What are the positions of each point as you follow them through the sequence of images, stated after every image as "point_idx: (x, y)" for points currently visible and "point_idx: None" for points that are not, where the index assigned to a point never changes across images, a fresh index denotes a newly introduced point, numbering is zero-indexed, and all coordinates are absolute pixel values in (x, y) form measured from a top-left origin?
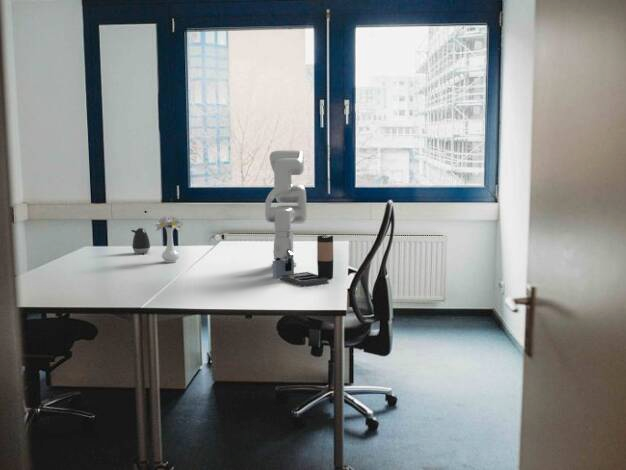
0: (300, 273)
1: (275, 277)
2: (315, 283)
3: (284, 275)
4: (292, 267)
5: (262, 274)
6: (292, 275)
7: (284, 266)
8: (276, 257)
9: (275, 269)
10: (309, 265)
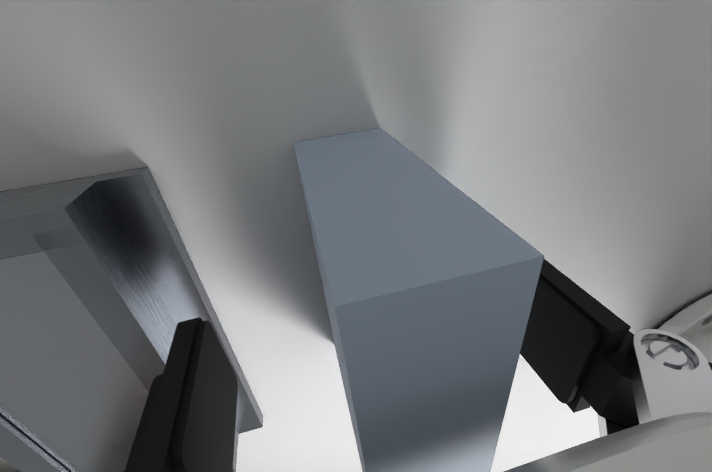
0: None
1: (307, 142)
2: None
3: (12, 240)
4: (351, 419)
5: (614, 65)
6: (45, 344)
7: (341, 365)
8: (661, 414)
9: (320, 189)
10: (575, 443)
